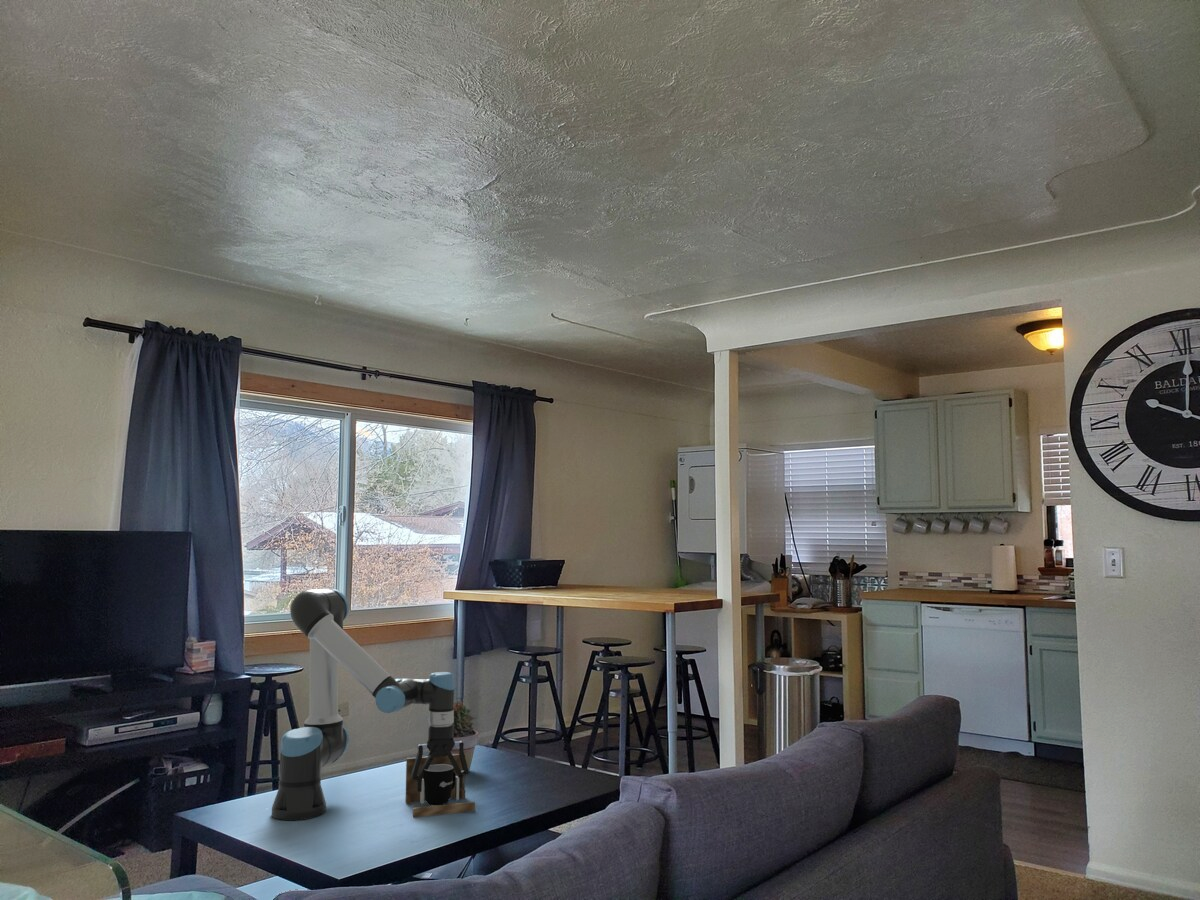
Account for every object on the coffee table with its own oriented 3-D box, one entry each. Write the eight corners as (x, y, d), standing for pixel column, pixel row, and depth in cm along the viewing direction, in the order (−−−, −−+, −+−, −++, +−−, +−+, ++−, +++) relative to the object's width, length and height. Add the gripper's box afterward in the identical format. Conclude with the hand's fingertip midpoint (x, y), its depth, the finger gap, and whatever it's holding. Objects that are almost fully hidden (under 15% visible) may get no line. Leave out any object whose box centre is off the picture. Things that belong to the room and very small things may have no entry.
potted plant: (461, 762, 318) (463, 692, 321) (490, 772, 303) (491, 699, 306) (417, 770, 306) (419, 697, 309) (445, 781, 292) (446, 704, 294)
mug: (438, 808, 256) (438, 772, 257) (416, 803, 261) (417, 768, 262) (465, 799, 266) (466, 764, 267) (444, 794, 270) (445, 760, 272)
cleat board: (413, 817, 252) (414, 770, 253) (405, 801, 268) (406, 758, 269) (474, 811, 258) (475, 765, 259) (463, 796, 274) (464, 753, 275)
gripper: (405, 729, 258) (403, 807, 255) (479, 724, 266) (478, 800, 263) (402, 724, 265) (400, 801, 262) (474, 720, 273) (473, 794, 270)
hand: (439, 800), depth 263 cm, fingers closed on mug, 10 cm apart
